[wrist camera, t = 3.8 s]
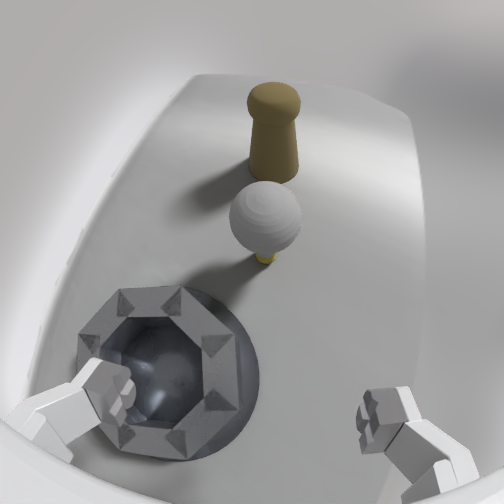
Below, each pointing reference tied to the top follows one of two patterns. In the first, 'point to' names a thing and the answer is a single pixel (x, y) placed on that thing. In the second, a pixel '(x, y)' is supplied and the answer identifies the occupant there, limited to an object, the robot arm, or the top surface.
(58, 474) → the robot arm
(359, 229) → the top surface
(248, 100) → the cork
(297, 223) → the light bulb
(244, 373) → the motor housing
